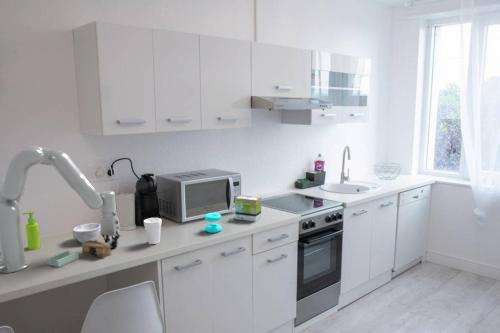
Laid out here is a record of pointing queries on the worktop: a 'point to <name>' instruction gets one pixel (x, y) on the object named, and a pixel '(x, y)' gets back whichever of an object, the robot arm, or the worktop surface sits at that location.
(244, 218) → the tea box
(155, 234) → the foam cup
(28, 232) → the soap dispenser
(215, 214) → the donuts
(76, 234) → the paper bowls
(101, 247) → the brown wooden block
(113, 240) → the robot arm
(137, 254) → the worktop surface
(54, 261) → the cradle
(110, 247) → the axle
